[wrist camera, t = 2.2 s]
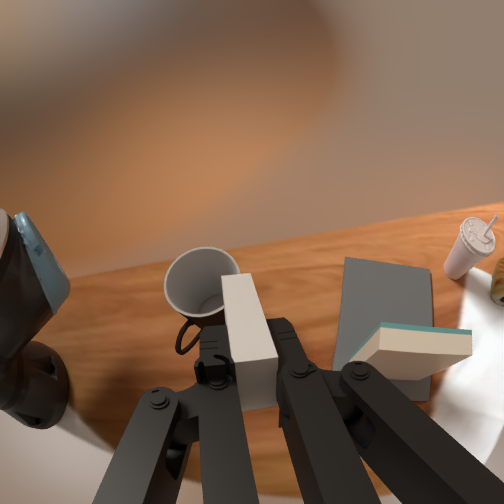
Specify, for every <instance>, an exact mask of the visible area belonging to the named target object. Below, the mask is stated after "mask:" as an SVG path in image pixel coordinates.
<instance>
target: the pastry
mask: <svg viewBox="0 0 504 504" xmlns="http://www.w3.org/2000/svg"><path fill="white" fill-rule="evenodd" d="M491 299H492V300H493V301H494V302H495V303H497V304H498V305H504V257H503V258H501V259H499V260H498V262H497V265H496V267H495V270H494V273H493V275H492V285H491Z"/></svg>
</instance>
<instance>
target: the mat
mask: <svg viewBox="0 0 504 504" xmlns="http://www.w3.org/2000/svg"><path fill="white" fill-rule="evenodd" d="M380 322H387V323H396V324H406V325H416V326H426V327H433V323H432V295H431V280H430V269H424V268H418V267H411V266H404V265H398V264H391V263H384V262H377V261H370V260H364V259H357V258H350V257H345V264H344V277H343V288H342V298H341V308H340V317H339V325H338V333H337V340H336V347H335V354H334V361H333V367H332V371H341V370H342V368H343V366H344V365H345V364H347V363H348V362H349V361H350V356H351V355H352V354H353V353H354V352H355V351H356V350H357V349H358V347H359V346H360V345H361V344H362V343H363V342H364V341H365V340H366V339H367V337H368V336H369V335H370V334H371V333H372V332H373V330H374V329H375V328H376V327H377V326H378V325H379V323H380ZM388 380H389V381H390V382H391V383H392V384H393V385H395V386H396V387H397V388H398V389H399V390H400V391H401V392H402V393H403V394H405V395H406V396H407V397H408V398H409V399H410V400H411V401H429V397H430V385H431V375H430V376H428V377H426V378H423V379H421V380H418V381H417V380H397V379H388Z"/></svg>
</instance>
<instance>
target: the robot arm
mask: <svg viewBox="0 0 504 504" xmlns="http://www.w3.org/2000/svg"><path fill="white" fill-rule="evenodd" d="M221 279H222V290H223V301H224V311H225V321H226V325H217V326H206V327H204V328H203V329H202V331H201V333H200V357H199V358H198V359H197V360H196V361H195V365H194V370H195V374H196V379H197V382H196V383H195V384H194V385H193V386H192V387H190V388H188V389H186V390H183V391H180V392H176V393H175V392H174V391H173V390H171V389H169V388H166V387H156V388H152V389H150V390H148V391H147V392H145V393H144V394H143V395H142V397H141V398H140V400H139V402H138V404H137V406H136V408H135V411H134V413H133V415H132V417H131V419H130V421H129V423H128V425H127V427H126V429H125V432H124V434H123V436H122V438H121V440H120V442H119V444H118V447H117V449H116V451H115V453H114V455H113V458H112V460H111V462H110V464H109V466H108V469H107V471H106V473H105V476H104V478H103V480H102V482H101V484H100V487H99V489H98V491H97V494H96V496H95V498H94V501H93V503H92V504H176V500H177V497H178V493H179V490H180V485H181V482H182V479H183V475H184V471H185V468H186V464H187V461H188V457H189V453H190V450H191V446H192V443H193V442H196V441H200V460H201V475H202V488H203V501H204V504H259V500H258V495H257V490H256V485H255V480H254V475H253V470H252V465H251V460H250V454H249V449H248V444H247V438H246V433H245V427H244V421H243V415H242V411H248V410H256V409H263V408H270V407H276V406H277V402H278V405H279V428H281V427H282V429H283V432H284V436H285V439H286V443H287V446H288V450H289V453H290V457H291V460H292V464H293V467H294V470H295V474H296V477H297V481H298V484H299V487H300V491H301V494H302V497H303V501H304V504H381V502H380V500H379V497H378V495H377V493H376V491H375V489H374V486H373V484H372V482H371V480H370V478H369V476H368V473H367V471H366V469H365V467H364V465H363V463H362V460H361V458H360V456H361V457H362V459H363V460H364V461H365V462H366V463H367V464H368V466H369V467H370V468H371V469H372V470H373V471H374V473H375V474H376V475H377V476H378V477H379V478H380V479H381V481H382V482H383V483H384V484H385V485H386V486H387V487H388V488H389V490H390V491H391V492H392V493H393V494H394V495H395V496H396V497H397V498H398V499H399V501H400V502H401V503H402V504H504V483H503V482H502V481H501V480H500V479H499V478H498V477H497V476H495V475H494V474H493V473H492V472H491V471H490V470H489V469H488V468H486V467H485V466H484V465H483V464H482V463H481V462H480V461H479V460H477V459H476V458H475V457H474V456H473V455H472V454H471V453H470V452H468V451H467V450H466V449H465V448H464V447H463V446H462V445H461V444H459V443H458V442H457V441H456V440H455V439H454V438H453V437H452V436H450V435H449V434H448V433H447V432H446V431H445V430H444V429H443V428H441V427H440V426H439V425H438V424H437V423H436V422H435V421H434V420H433V419H431V418H430V417H429V416H428V415H427V414H426V413H425V412H424V411H422V410H421V409H420V408H419V407H418V406H417V405H416V404H415V403H414V402H412V401H411V400H410V399H409V398H408V397H407V396H406V395H405V394H403V393H402V392H401V391H400V390H399V389H398V388H397V387H396V386H395V385H393V384H392V383H391V382H390V381H389V380H388V379H387V378H386V377H385V376H383V375H382V374H381V373H380V372H379V371H378V370H377V369H376V368H375V367H373V366H372V365H371V364H369V363H367V362H363V361H352V362H348V363H347V364H345V365H344V366H343V368H342V370H341V371H331V370H323V369H319V368H318V367H317V366H316V365H315V364H314V363H313V362H311V361H309V360H308V358H307V356H306V354H305V352H304V350H303V348H302V345H301V343H300V341H299V339H298V337H297V334H296V332H295V330H294V328H293V326H292V324H291V323H290V322H289V321H288V320H287V319H285V318H284V317H283V318H275V319H267V320H266V319H265V316H264V313H263V310H262V307H261V304H260V301H259V298H258V295H257V292H256V290H255V287H254V284H253V280H252V277H251V274H250V273H247V274H236V275H225V276H221ZM69 293H70V282H69V280H68V278H67V276H66V274H65V272H64V271H63V269H62V267H61V266H60V264H59V262H58V261H57V259H56V258H55V256H54V254H53V253H52V251H51V250H50V248H49V247H48V245H47V243H46V242H45V240H44V239H43V237H42V235H41V234H40V232H39V231H38V229H37V228H36V226H35V225H34V223H33V222H32V220H31V219H30V218H29V216H28V215H27V214H26V213H25V212H21V213H20V214H17V215H15V217H14V219H11V217H10V216H9V215H8V214H7V213H6V212H5V211H4V210H3V209H1V208H0V409H1V410H3V411H5V412H6V413H8V414H9V415H10V416H12V417H13V418H15V419H16V420H17V421H19V422H21V423H22V424H24V425H26V426H28V427H31V428H36V429H48V428H50V427H52V426H54V425H55V424H56V423H57V422H58V421H59V420H60V418H61V417H62V415H63V413H64V410H65V408H66V404H67V399H68V378H67V373H66V369H65V366H64V364H63V362H62V360H61V358H60V356H59V355H58V354H57V353H56V352H55V351H54V350H53V349H52V348H50V347H48V346H46V345H45V344H43V343H40V342H37V341H31V339H32V338H33V337H34V336H35V335H36V334H37V333H38V332H39V331H40V329H41V328H42V327H43V326H44V325H45V324H46V323H47V322H48V321H49V320H50V319H51V318H52V316H53V315H55V314H56V313H57V310H58V308H59V307H60V306H61V305H62V304H63V302H64V301H65V300H66V299H67V297H68V295H69ZM359 455H360V456H359Z"/></svg>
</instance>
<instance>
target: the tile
mask: <svg viewBox="0 0 504 504" xmlns="http://www.w3.org/2000/svg"><path fill="white" fill-rule="evenodd" d="M471 355H472V330H463V329H450V328H437V327H426V326H416V325H406V324H396V323H387V322H380V323H379V325H378V326H377V327H376V328H375V329H374V330H373V332H372V333H371V334H370V335H369V336H368V337H367V339H366V340H365V341H364V342H363V343H362V344H361V345H360V346H359V347H358V349H357V350H356V351H355V352H354V353H353V354H352V355H351V356H350V361H349V362H352V361H363V362H367V363H369V364H371V365H372V366H373V367H375V368H376V369H377V370H378V371H379V372H380V373H381V374H382V375H383V376H385V377H386V378H387V379H397V380H417V381H418V380H421V379H423V378H426V377H428V376H430V375H432V374H435V373H437V372H439V371H441V370H443V369H445V368H448V367H450V366H452V365H454V364H456V363H458V362H460V361H462V360H464V359H466V358H468V357H470V356H471Z"/></svg>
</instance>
